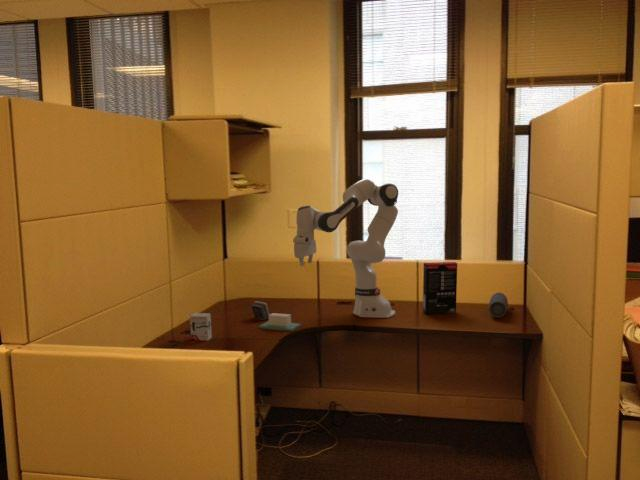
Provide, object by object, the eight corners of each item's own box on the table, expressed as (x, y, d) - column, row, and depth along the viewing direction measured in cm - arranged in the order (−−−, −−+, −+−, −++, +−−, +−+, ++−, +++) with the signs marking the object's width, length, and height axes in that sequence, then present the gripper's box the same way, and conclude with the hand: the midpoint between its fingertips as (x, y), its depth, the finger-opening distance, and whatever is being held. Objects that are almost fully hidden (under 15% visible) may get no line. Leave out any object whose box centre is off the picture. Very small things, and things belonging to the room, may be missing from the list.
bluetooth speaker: (507, 320, 288) (507, 301, 287) (488, 319, 291) (488, 300, 290) (508, 310, 309) (508, 291, 308) (490, 309, 312) (490, 291, 311)
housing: (291, 324, 285) (290, 314, 284) (287, 326, 281) (286, 316, 280) (273, 322, 289) (272, 313, 288) (268, 325, 284) (268, 315, 284)
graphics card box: (452, 310, 311) (453, 260, 308) (457, 313, 305) (457, 262, 302) (422, 312, 309) (422, 262, 306) (426, 315, 302) (426, 264, 299)
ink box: (190, 340, 265) (189, 315, 264) (194, 337, 270) (193, 312, 269) (208, 340, 264) (207, 315, 263) (212, 337, 269) (210, 313, 268)
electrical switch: (271, 319, 301) (269, 302, 300) (263, 322, 298) (261, 305, 296) (259, 316, 308) (257, 299, 306) (251, 319, 304) (249, 302, 302)
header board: (300, 326, 286) (300, 316, 285) (292, 331, 277) (291, 321, 276) (268, 323, 293) (268, 314, 292) (259, 328, 284) (259, 319, 283)
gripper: (308, 235, 304) (308, 261, 306) (291, 239, 286) (292, 267, 287) (319, 235, 302) (319, 261, 304) (303, 240, 283) (303, 267, 285)
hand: (306, 264), depth 295 cm, fingers open, 8 cm apart
